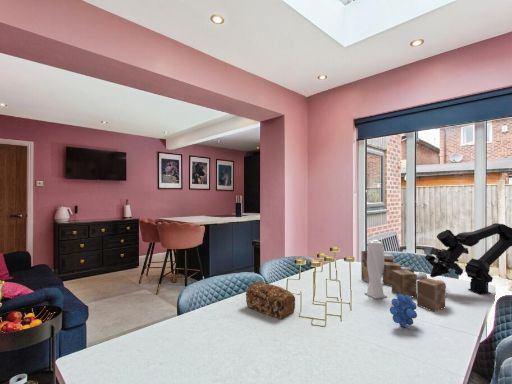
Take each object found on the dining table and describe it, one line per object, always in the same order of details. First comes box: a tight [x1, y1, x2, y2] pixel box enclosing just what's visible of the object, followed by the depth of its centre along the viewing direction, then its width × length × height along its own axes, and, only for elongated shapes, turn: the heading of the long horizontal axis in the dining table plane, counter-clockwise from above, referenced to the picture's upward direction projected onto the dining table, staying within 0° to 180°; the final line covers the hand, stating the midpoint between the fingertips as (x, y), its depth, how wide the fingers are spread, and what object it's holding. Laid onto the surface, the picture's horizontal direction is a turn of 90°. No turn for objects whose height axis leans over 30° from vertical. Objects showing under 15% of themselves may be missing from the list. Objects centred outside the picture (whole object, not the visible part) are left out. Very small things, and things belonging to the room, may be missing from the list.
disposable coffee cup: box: [382, 252, 395, 276], centre depth 165 cm, size 10×10×12 cm
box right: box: [416, 277, 446, 312], centre depth 118 cm, size 8×7×10 cm
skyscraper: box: [364, 237, 388, 300], centre depth 129 cm, size 8×8×28 cm
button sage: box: [417, 271, 428, 281], centre depth 132 cm, size 8×5×5 cm, turn 95°
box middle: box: [391, 270, 418, 298], centre depth 132 cm, size 8×7×10 cm
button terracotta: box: [435, 279, 447, 290], centre depth 119 cm, size 8×5×5 cm, turn 117°
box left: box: [382, 261, 402, 286], centre depth 148 cm, size 8×7×10 cm
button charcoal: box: [401, 265, 415, 273], centre depth 146 cm, size 8×5×5 cm, turn 71°
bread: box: [245, 281, 296, 320], centre depth 114 cm, size 19×11×10 cm, turn 49°
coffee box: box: [360, 250, 370, 284], centre depth 151 cm, size 9×6×16 cm
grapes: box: [389, 294, 418, 328], centre depth 98 cm, size 12×7×12 cm, turn 107°
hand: (431, 276), depth 133 cm, fingers closed
